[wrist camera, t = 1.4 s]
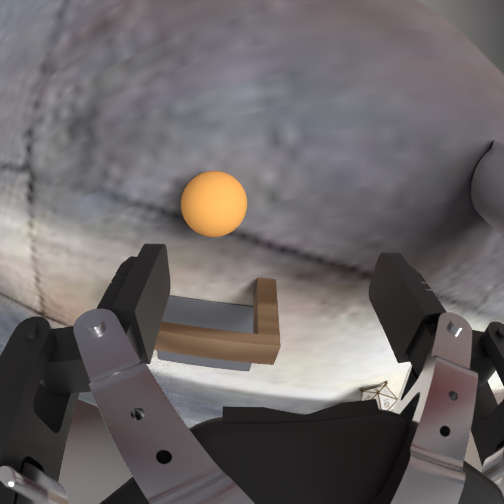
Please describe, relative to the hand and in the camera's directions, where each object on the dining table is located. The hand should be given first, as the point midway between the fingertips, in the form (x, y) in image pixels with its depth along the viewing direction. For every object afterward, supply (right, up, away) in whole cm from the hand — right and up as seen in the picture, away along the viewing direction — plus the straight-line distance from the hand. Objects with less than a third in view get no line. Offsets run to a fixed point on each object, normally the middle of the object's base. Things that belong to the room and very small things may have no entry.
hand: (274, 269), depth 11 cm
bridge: (-6, -3, +23) cm, 24 cm away
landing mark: (-7, -11, +28) cm, 31 cm away
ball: (-4, +5, +14) cm, 15 cm away
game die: (+22, -25, +37) cm, 50 cm away
